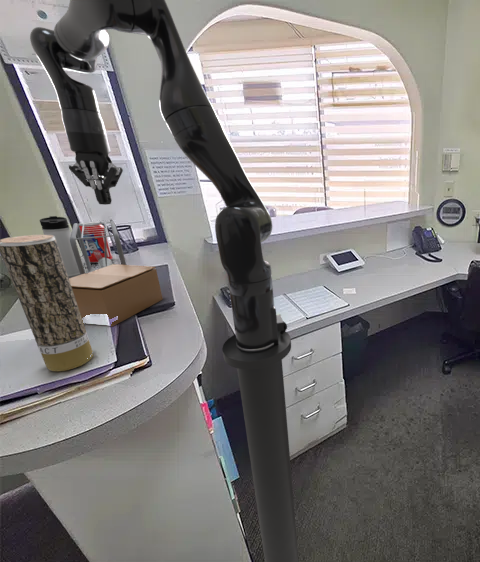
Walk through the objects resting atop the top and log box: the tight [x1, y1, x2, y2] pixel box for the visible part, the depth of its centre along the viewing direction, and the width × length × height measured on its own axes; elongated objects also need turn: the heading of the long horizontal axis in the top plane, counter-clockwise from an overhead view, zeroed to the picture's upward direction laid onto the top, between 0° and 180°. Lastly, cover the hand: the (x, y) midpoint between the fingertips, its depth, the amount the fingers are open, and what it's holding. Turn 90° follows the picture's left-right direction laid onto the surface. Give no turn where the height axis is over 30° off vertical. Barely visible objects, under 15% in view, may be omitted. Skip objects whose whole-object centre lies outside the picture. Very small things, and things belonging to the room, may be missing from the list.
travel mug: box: [39, 215, 80, 278], centre depth 102 cm, size 6×7×20 cm
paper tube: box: [0, 234, 94, 372], centre depth 57 cm, size 7×7×25 cm
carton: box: [69, 268, 164, 328], centre depth 81 cm, size 17×13×10 cm
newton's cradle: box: [70, 220, 127, 275], centre depth 99 cm, size 30×10×18 cm, turn 40°
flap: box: [86, 263, 156, 278], centre depth 84 cm, size 8×13×1 cm, turn 85°
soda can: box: [79, 221, 113, 264], centre depth 119 cm, size 8×8×15 cm
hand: (105, 204), depth 82 cm, fingers closed
